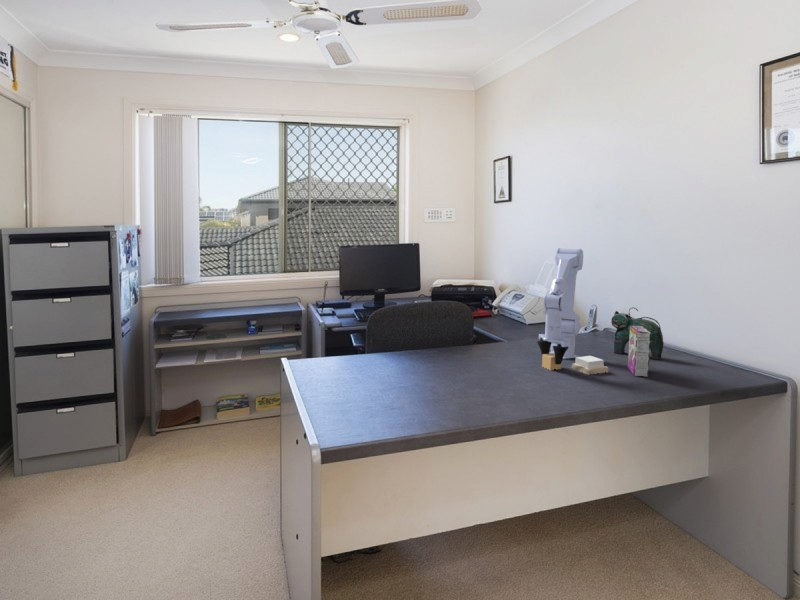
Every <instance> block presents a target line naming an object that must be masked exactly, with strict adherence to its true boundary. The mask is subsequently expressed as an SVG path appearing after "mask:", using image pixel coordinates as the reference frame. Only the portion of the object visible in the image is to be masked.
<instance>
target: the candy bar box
mask: <svg viewBox="0 0 800 600" xmlns="http://www.w3.org/2000/svg"><path fill="white" fill-rule="evenodd" d="M650 335H651V333H650V332H649V331H648V330H647V329H646V328H644V327H643V326H630V333H629V341H628V354H627V369H628V370H629V372H630V373H631V374H632V375H633V376H634V377H637V376H643V377H646V378H648V377H649V366H650V364H649V363H650V353H651V350H650ZM643 377H642V378H643Z"/></svg>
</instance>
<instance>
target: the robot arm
mask: <svg viewBox="0 0 800 600" xmlns="http://www.w3.org/2000/svg"><path fill="white" fill-rule="evenodd" d="M554 256H555V257H554V260H555V263H556V266H557V271H556V277H555V278H554V279H552V281H551V284H550V288H549V291H548V294H547V295H545V296H544V301H543V306H544V314H545V329H544V333H539V334H538V341H537V342H536V344H537V345H538V347H539V349H540V353H541V355H542V354H550V353H554V354H555V364H561V365H562V363H561V362H563V360H565V359H566V360H567V359H575V357H580V356H579V355H577V354H575V345H576V336H578V334H580V330H581V329H580V328H581V320H580V319H581V318H580V316H579V315H578V314H577V313H576V312H575V311H574V309H575V307H574V306H575V295H576V283H577V282H576V281H577V275H578V272H579V271H581V270H582V269H583V264H584V251H583V249H582V248H557V249H556V251H555V255H554Z"/></svg>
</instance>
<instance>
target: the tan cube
mask: <svg viewBox="0 0 800 600" xmlns="http://www.w3.org/2000/svg"><path fill="white" fill-rule="evenodd" d="M549 353H550V352H549ZM562 362H563V361H562ZM562 362H561V364H555V354H554V353H550V354H542V353H541V367H542V368H543V367H544V368H543V369H546V368H547V369H546V370H548V369H549V370H548V371H554V369H556V370H562Z"/></svg>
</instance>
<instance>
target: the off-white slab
mask: <svg viewBox="0 0 800 600" xmlns="http://www.w3.org/2000/svg"><path fill="white" fill-rule="evenodd" d="M574 359H575V360H574V363H575V364H577V365H580V366H582V367H585V368H588V369H590V368H597V367H603V365H604V362H605V360H604V359H602V358H599V357H596V356H592V355H585V356H579V357H575V358H574ZM604 366H605V365H604Z"/></svg>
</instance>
